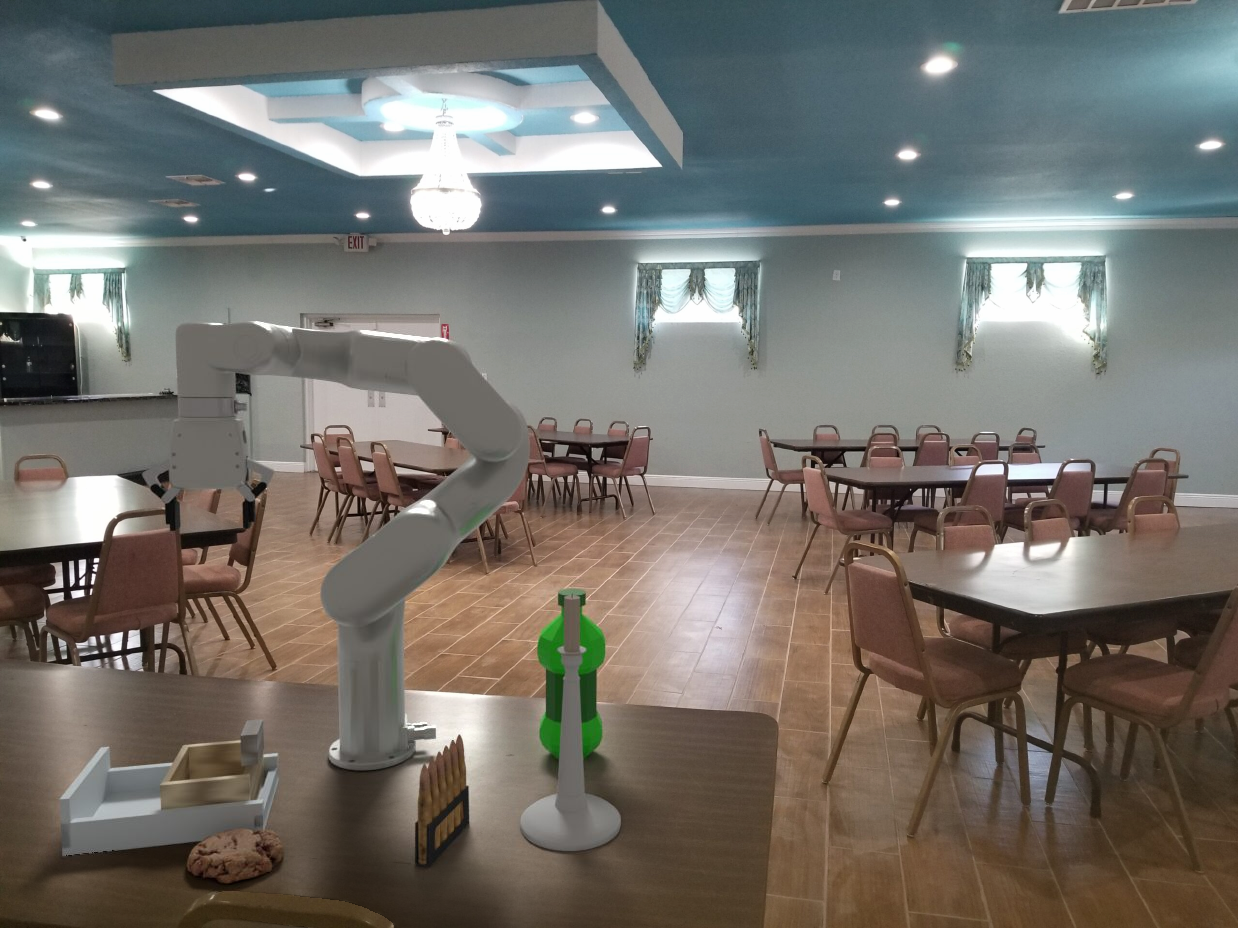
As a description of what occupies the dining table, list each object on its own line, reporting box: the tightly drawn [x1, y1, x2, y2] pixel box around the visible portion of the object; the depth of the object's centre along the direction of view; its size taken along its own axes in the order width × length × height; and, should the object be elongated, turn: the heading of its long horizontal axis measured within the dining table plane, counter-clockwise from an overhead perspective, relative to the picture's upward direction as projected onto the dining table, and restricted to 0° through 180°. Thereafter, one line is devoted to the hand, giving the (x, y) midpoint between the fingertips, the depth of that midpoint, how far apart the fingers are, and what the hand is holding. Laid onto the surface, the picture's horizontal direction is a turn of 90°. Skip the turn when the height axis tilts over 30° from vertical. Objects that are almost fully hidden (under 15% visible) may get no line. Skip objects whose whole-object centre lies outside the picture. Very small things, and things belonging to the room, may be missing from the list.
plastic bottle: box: [536, 588, 606, 760], centre depth 129 cm, size 10×10×25 cm
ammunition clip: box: [414, 734, 470, 869], centre depth 104 cm, size 11×2×12 cm, turn 164°
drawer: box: [160, 718, 265, 810], centre depth 111 cm, size 11×12×10 cm
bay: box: [58, 746, 280, 857], centre depth 110 cm, size 22×15×7 cm, turn 104°
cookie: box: [186, 829, 285, 884], centre depth 100 cm, size 10×11×3 cm
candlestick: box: [519, 594, 622, 852], centre depth 108 cm, size 13×13×30 cm
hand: (211, 528), depth 125 cm, fingers open, 9 cm apart
